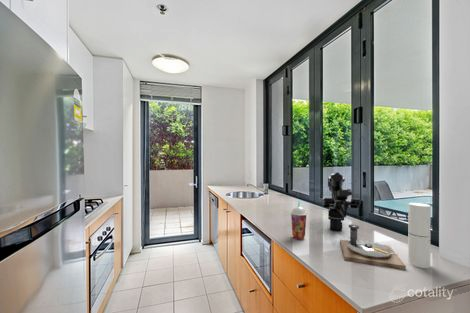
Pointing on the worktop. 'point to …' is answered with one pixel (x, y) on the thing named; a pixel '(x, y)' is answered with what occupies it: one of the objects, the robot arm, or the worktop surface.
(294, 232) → the smoothie
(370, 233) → the worktop surface
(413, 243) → the cylindrical container
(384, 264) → the board
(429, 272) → the worktop surface
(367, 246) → the dial
